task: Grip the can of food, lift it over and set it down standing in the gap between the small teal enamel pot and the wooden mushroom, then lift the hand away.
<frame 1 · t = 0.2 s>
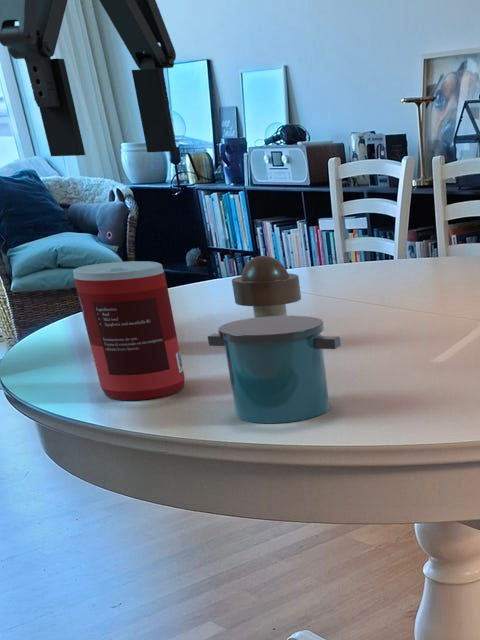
hand: (118, 154, 76), 20 cm above the table, tool pointing down, fingers open, 13 cm apart
wooden mushroom: (275, 347, 99), on the table
canned food: (145, 392, 83), on the table
enamel pot: (283, 410, 76), on the table
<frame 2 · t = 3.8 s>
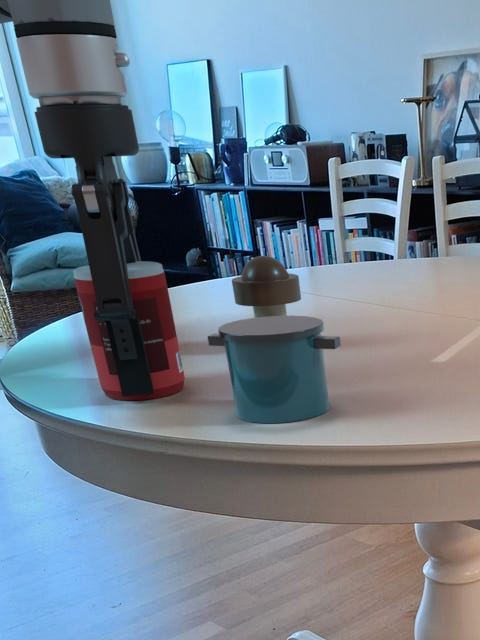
hand: (143, 383, 83), 1 cm above the table, tool pointing down, fingers closed on canned food, 8 cm apart
canned food: (145, 392, 83), on the table, touching gripper
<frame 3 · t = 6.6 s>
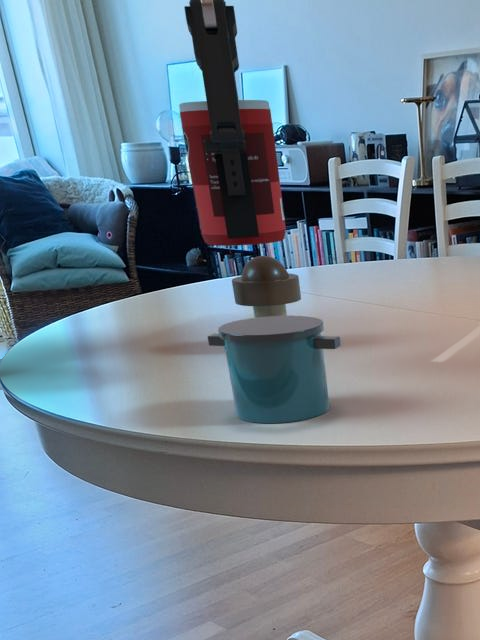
hand: (244, 232, 81), 13 cm above the table, tool pointing down, fingers closed on canned food, 8 cm apart
canned food: (245, 243, 81), point 12 cm above the table, touching gripper
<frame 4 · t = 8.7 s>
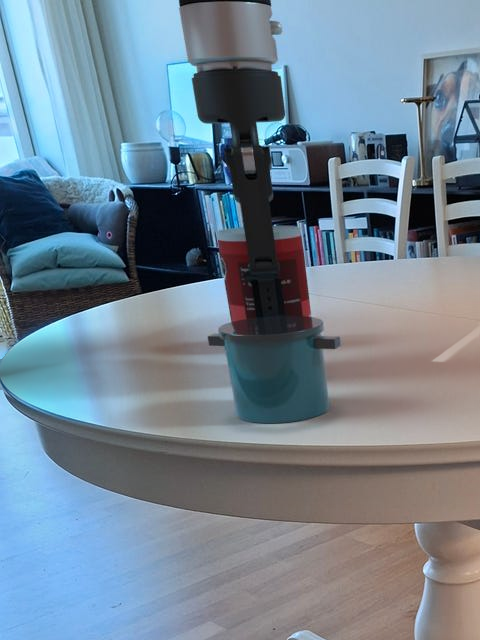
hand: (275, 343, 86), 3 cm above the table, tool pointing down, fingers closed on canned food, 8 cm apart
canned food: (276, 353, 87), point 2 cm above the table, touching gripper
when the fingers open (1 cm above the table, at t = 9.9 s): canned food stays where it is, on the table.
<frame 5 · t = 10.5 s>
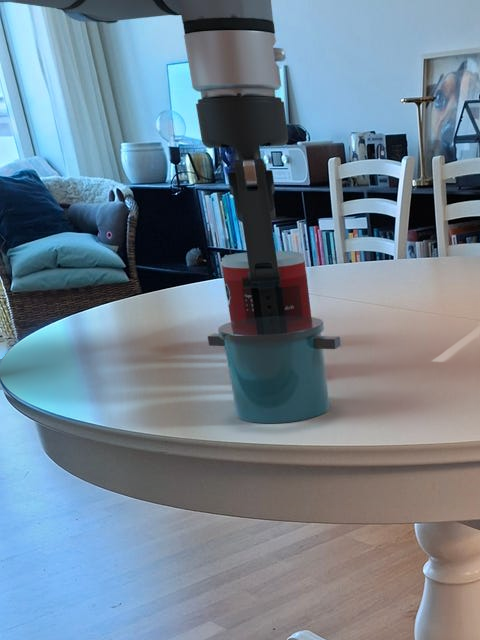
hand: (274, 348, 86), 3 cm above the table, tool pointing down, fingers open, 13 cm apart
canned food: (279, 376, 88), on the table
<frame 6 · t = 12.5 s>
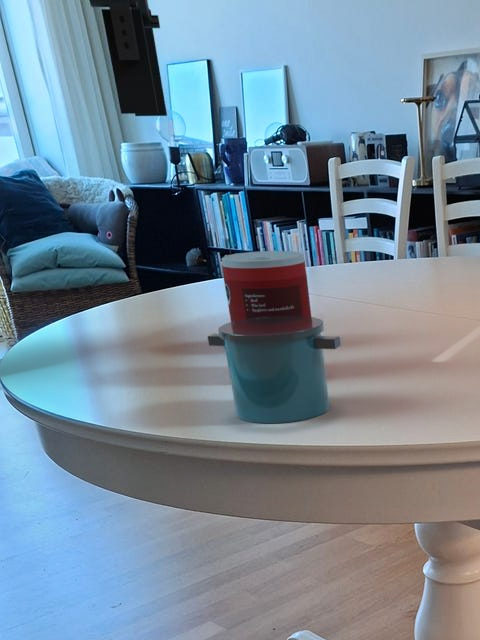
hand: (146, 115, 73), 22 cm above the table, tool pointing down, fingers open, 13 cm apart
nothing on the table moved.
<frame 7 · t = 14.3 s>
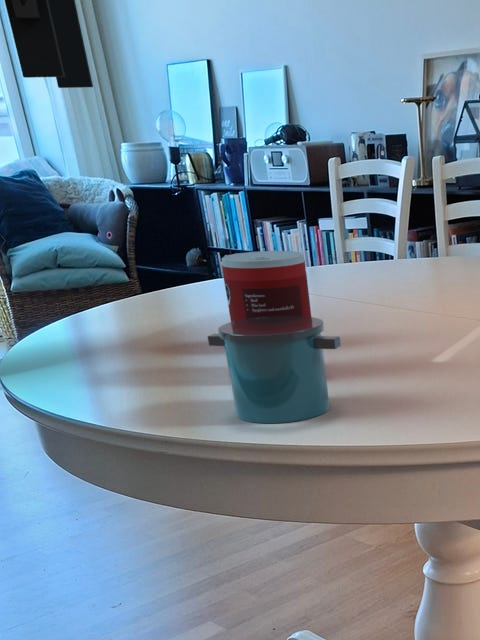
hand: (61, 83, 69), 25 cm above the table, tool pointing down, fingers open, 13 cm apart
nothing on the table moved.
at the end: canned food 13.9 cm from the enamel pot (horizontally); canned food 13.8 cm from the wooden mushroom (horizontally); canned food tilted 0° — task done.
